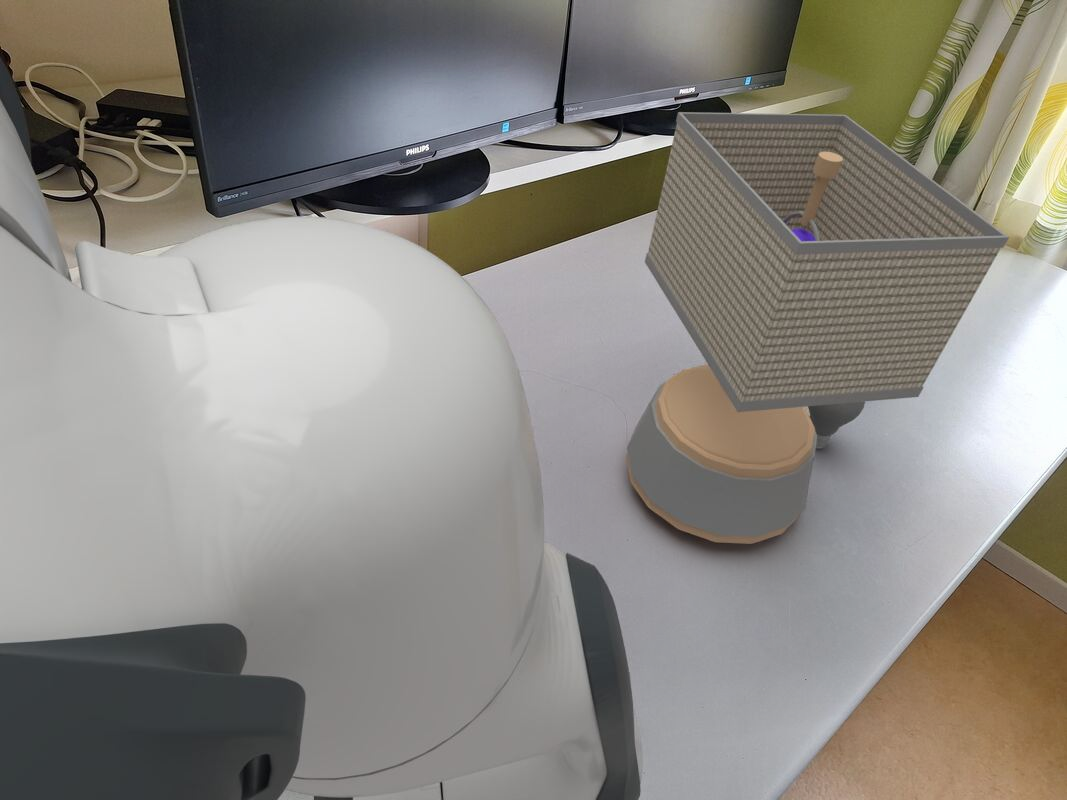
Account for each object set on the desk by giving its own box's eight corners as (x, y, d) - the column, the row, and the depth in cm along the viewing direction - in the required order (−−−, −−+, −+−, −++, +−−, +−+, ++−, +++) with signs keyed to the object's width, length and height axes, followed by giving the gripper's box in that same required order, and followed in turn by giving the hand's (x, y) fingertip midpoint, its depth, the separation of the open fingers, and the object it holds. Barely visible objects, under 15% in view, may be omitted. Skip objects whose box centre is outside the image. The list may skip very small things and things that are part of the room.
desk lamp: (839, 556, 76) (1034, 224, 52) (661, 581, 71) (783, 230, 47) (747, 411, 91) (863, 104, 67) (596, 423, 87) (663, 100, 63)
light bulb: (796, 460, 86) (827, 393, 79) (781, 424, 90) (810, 358, 84) (847, 463, 86) (882, 396, 80) (830, 427, 91) (862, 361, 84)
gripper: (565, 602, 53) (540, 412, 57) (254, 638, 48) (253, 430, 53) (547, 608, 59) (526, 435, 63) (269, 640, 54) (266, 453, 59)
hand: (399, 433), depth 58 cm, fingers closed on bar, 3 cm apart
